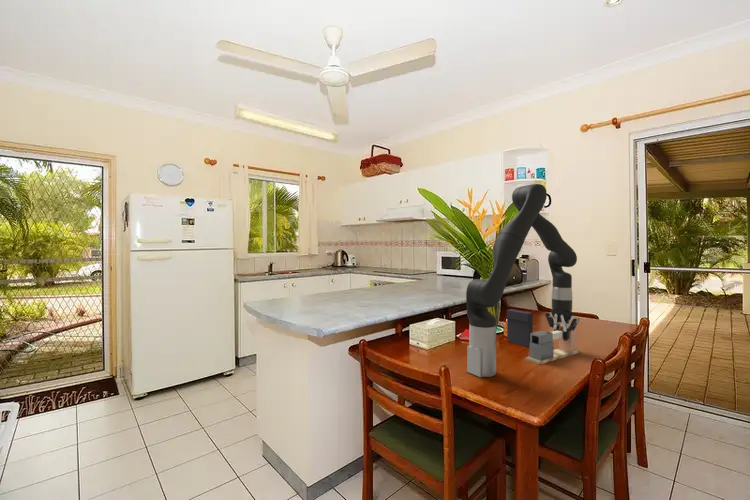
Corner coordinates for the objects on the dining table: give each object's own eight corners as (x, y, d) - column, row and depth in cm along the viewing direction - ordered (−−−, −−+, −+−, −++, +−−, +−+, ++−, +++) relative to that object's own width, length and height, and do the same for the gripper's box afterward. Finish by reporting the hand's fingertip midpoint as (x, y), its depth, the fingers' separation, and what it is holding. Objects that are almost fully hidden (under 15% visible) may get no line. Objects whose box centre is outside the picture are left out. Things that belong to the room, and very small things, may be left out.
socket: (570, 352, 145) (570, 327, 144) (559, 348, 149) (559, 325, 149) (576, 350, 147) (576, 326, 147) (564, 347, 151) (564, 324, 151)
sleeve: (541, 360, 134) (541, 335, 134) (529, 357, 139) (529, 333, 138) (553, 357, 139) (553, 333, 138) (541, 353, 143) (541, 330, 143)
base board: (539, 364, 133) (539, 362, 133) (525, 360, 138) (525, 357, 138) (580, 352, 147) (580, 349, 147) (566, 348, 153) (566, 346, 153)
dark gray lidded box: (533, 346, 156) (533, 312, 156) (528, 347, 154) (528, 313, 154) (511, 340, 166) (512, 308, 165) (506, 341, 163) (506, 309, 163)
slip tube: (548, 342, 138) (548, 334, 138) (541, 340, 141) (541, 333, 141) (572, 335, 147) (572, 328, 147) (565, 334, 150) (565, 327, 149)
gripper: (540, 296, 149) (540, 336, 150) (573, 301, 137) (573, 345, 138) (551, 294, 153) (550, 334, 153) (584, 299, 141) (583, 342, 141)
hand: (561, 339), depth 145 cm, fingers closed on slip tube, 3 cm apart
